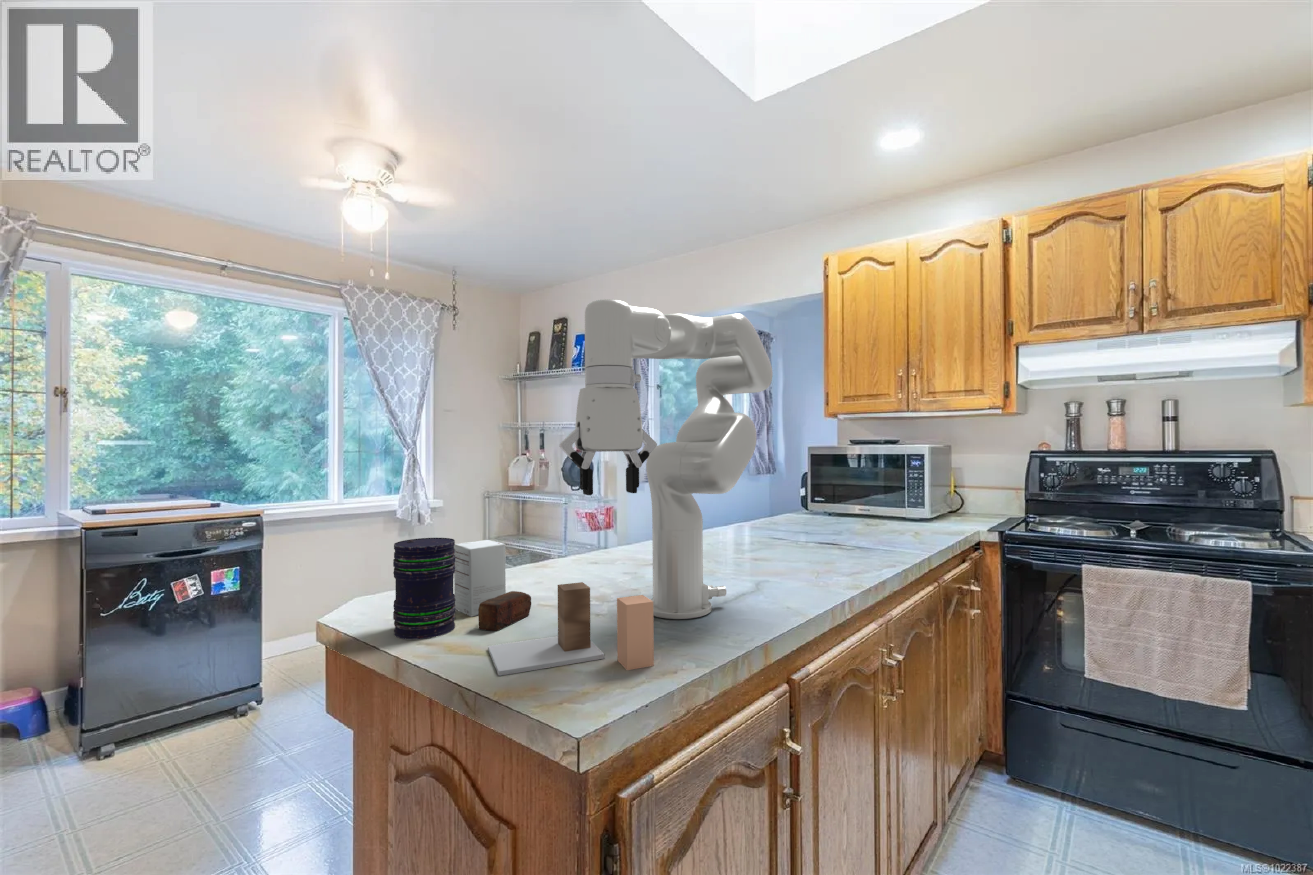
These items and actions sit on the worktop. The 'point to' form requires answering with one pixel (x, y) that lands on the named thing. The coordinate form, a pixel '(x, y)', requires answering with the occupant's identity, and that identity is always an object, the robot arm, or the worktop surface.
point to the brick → (503, 610)
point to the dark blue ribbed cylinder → (424, 588)
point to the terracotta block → (635, 632)
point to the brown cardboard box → (574, 616)
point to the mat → (537, 655)
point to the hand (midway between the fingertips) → (610, 492)
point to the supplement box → (478, 574)
